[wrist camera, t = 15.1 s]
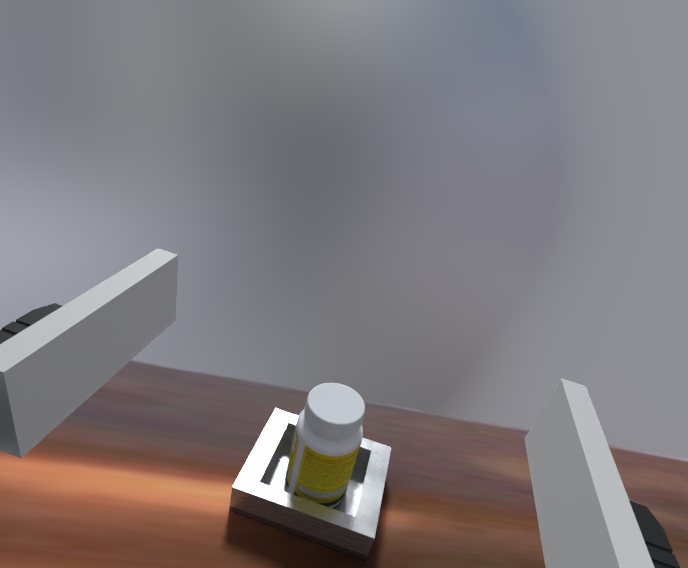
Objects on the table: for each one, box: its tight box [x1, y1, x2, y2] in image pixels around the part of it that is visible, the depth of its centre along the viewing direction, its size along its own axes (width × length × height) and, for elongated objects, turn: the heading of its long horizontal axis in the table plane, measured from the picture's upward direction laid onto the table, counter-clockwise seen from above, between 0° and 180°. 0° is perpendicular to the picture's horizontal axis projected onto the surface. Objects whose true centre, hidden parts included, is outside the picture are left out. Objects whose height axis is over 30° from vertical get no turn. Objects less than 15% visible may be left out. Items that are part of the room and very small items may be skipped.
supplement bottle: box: [285, 383, 365, 508], centre depth 32 cm, size 5×5×8 cm
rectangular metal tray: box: [229, 408, 391, 561], centre depth 34 cm, size 10×8×2 cm
